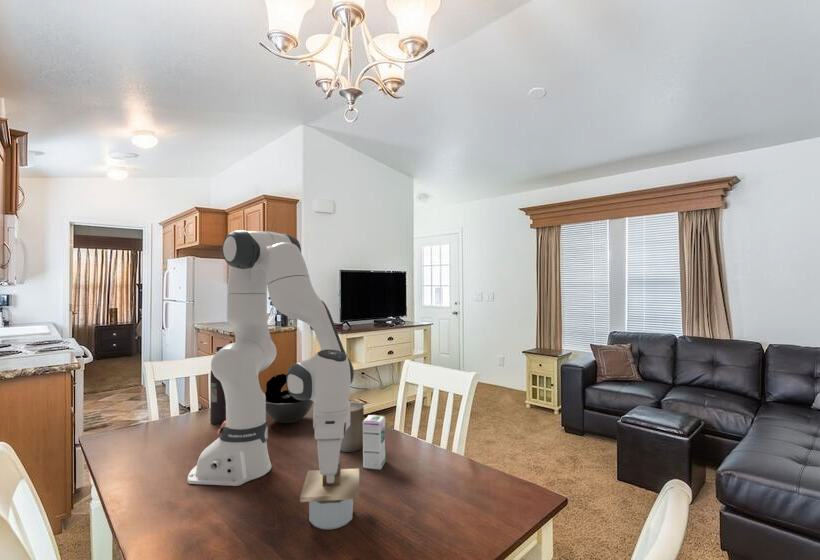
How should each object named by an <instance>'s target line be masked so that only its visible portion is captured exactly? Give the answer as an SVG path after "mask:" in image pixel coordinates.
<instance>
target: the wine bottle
mask: <svg viewBox="0 0 820 560" xmlns="http://www.w3.org/2000/svg"><path fill="white" fill-rule="evenodd" d="M223 347H225V345H217V346H216V353H217V352H218V351H219V350H220V349H222V348H223ZM210 369H211V368H210ZM209 382H210V389H209V391H210V392H209V393H210V395H209V396H210V401H209V403H210V405H209V406H210V407H209V409H210V412H209V414H210V416H209V417H210V420H209V421H210V424H213V425H222V423H223V422H224V421H226V400H225V394H224V390H223V387H222V384H221V382H220V381H219V380H218V379H217V378H216V377H215V376H214V374H213V372H212V369H211V370H210V381H209Z"/></svg>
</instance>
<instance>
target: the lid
mask: <svg viewBox="0 0 820 560" xmlns="http://www.w3.org/2000/svg"><path fill="white" fill-rule="evenodd" d="M341 464H342V463H339V462H338V469H337V473H336V474H335V480H334V483H327V476H326V475H321V474H320V470H319V469H317V470H313V469H312V470H307V471H306V472H307V473H306V476H305V478H304V479H305V480H304V483H303V485H302V490H301V493H300V497H299V502H300V503H305V502H308V503H309V502H310V501H329V500H347V499H353V500H359V499H360V498H359V497H360V494H359V493H360V487H359V486H360V468H341V467H342V465H341Z"/></svg>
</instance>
